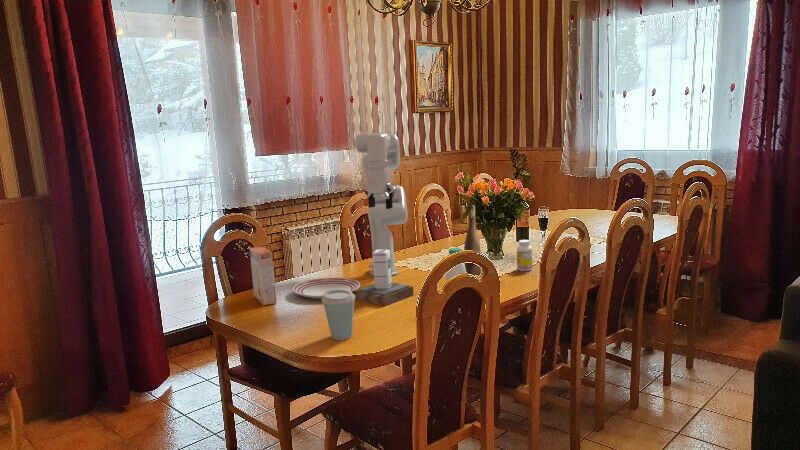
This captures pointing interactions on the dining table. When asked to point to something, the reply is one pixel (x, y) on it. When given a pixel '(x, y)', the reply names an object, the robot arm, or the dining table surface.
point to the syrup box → (382, 269)
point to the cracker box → (263, 275)
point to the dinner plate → (324, 286)
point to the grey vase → (472, 243)
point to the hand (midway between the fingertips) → (380, 207)
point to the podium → (384, 294)
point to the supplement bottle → (524, 256)
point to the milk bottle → (456, 269)
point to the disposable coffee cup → (339, 312)
